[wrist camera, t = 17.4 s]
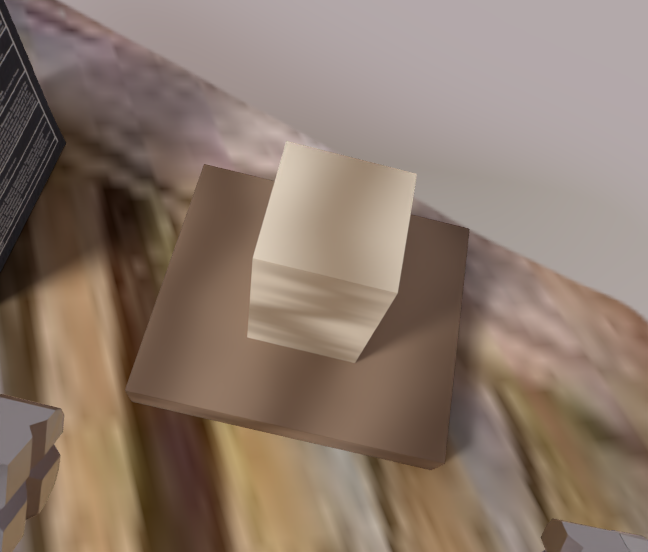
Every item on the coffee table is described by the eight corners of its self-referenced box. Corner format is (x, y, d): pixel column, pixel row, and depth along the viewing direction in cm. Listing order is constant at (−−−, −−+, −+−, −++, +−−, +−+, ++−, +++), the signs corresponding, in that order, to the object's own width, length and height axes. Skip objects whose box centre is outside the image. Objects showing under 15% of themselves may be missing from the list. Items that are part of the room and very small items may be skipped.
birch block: (247, 337, 28) (252, 258, 20) (273, 242, 30) (286, 141, 23) (355, 362, 28) (397, 293, 21) (372, 267, 30) (416, 173, 23)
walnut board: (131, 401, 28) (125, 390, 26) (205, 185, 33) (204, 163, 31) (431, 470, 28) (444, 463, 26) (456, 246, 34) (469, 228, 32)
